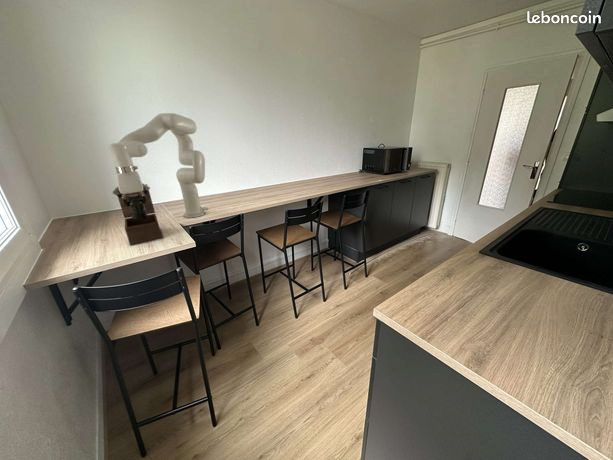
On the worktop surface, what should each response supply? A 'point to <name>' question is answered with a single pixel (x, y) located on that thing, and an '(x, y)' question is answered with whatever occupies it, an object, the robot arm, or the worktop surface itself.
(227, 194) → the worktop surface
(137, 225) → the walnut box
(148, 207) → the lid
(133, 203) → the supplement bottle
